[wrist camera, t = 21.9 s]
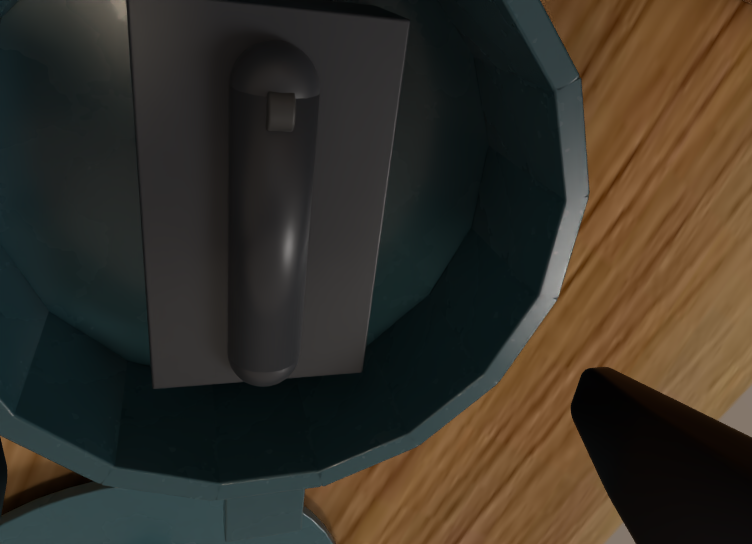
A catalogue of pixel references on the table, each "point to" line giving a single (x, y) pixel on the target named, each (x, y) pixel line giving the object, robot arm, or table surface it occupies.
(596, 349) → the table surface
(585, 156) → the pot
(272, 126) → the dark grey block
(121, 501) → the lid
